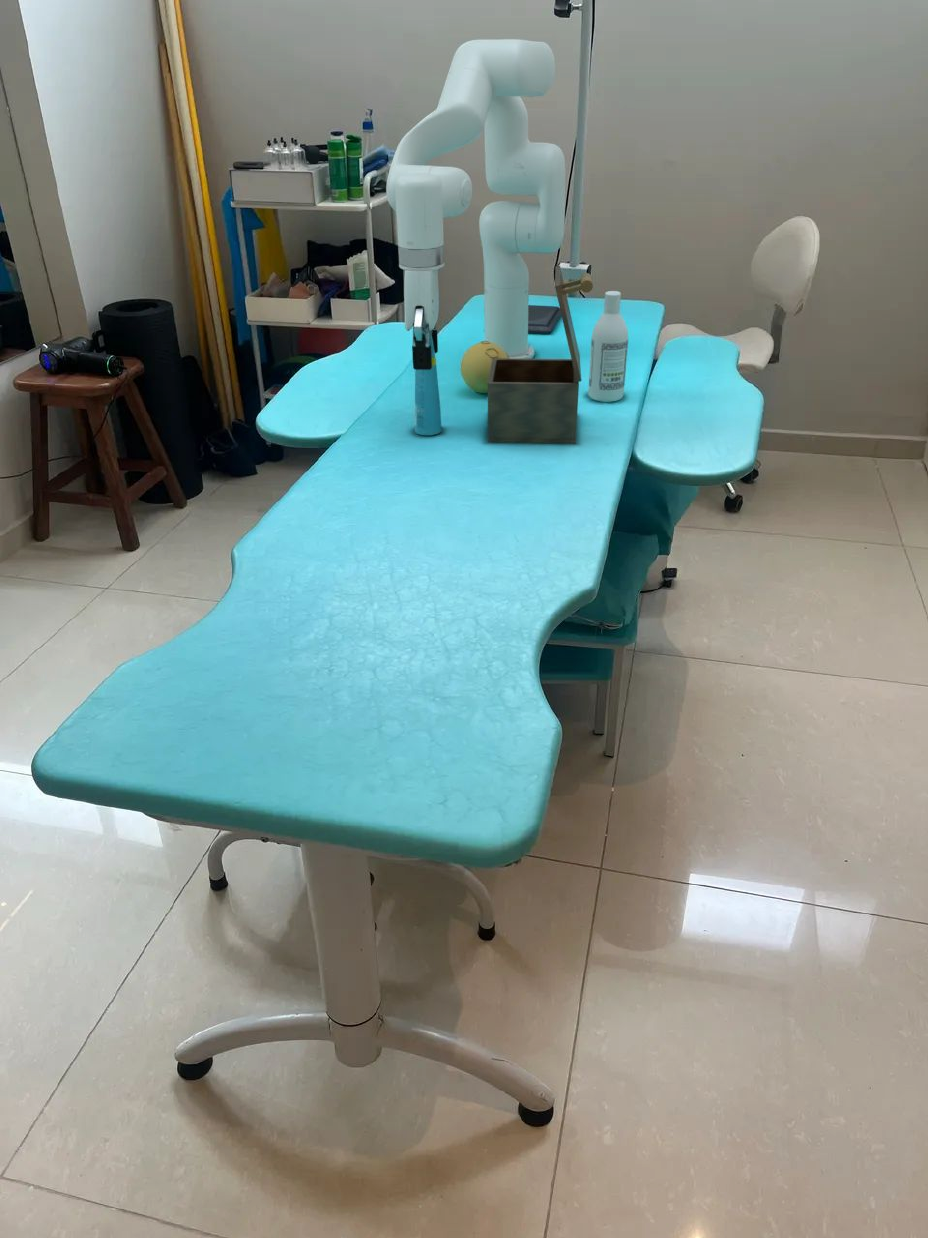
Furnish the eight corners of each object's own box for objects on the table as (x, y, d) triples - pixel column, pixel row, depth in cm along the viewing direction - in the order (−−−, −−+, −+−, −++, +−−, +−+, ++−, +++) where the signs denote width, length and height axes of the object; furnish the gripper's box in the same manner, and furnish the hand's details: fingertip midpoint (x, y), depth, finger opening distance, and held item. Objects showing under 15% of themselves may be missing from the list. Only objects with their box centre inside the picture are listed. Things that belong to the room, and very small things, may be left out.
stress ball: (483, 404, 179) (483, 353, 174) (451, 391, 185) (449, 342, 180) (520, 391, 185) (521, 342, 179) (487, 379, 191) (487, 331, 185)
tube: (448, 435, 166) (445, 328, 156) (424, 440, 165) (419, 333, 154) (431, 421, 172) (427, 318, 161) (408, 426, 170) (402, 322, 160)
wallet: (549, 326, 215) (487, 322, 219) (549, 334, 216) (487, 330, 220) (566, 304, 231) (507, 300, 235) (565, 311, 232) (507, 308, 236)
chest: (487, 442, 163) (487, 383, 157) (492, 414, 175) (492, 358, 169) (575, 443, 162) (578, 384, 156) (574, 415, 173) (577, 358, 167)
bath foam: (630, 396, 181) (639, 292, 170) (606, 405, 177) (614, 299, 166) (605, 387, 185) (612, 285, 174) (580, 396, 182) (586, 292, 171)
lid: (554, 286, 148) (590, 276, 146) (555, 266, 159) (588, 257, 157) (576, 382, 156) (610, 373, 155) (575, 356, 167) (607, 348, 166)
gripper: (406, 245, 159) (411, 345, 169) (390, 269, 145) (397, 376, 154) (449, 245, 158) (451, 345, 168) (438, 269, 144) (441, 377, 154)
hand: (425, 360), depth 161 cm, fingers open, 8 cm apart
